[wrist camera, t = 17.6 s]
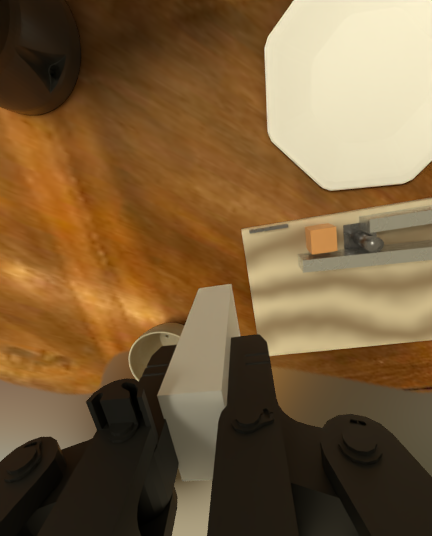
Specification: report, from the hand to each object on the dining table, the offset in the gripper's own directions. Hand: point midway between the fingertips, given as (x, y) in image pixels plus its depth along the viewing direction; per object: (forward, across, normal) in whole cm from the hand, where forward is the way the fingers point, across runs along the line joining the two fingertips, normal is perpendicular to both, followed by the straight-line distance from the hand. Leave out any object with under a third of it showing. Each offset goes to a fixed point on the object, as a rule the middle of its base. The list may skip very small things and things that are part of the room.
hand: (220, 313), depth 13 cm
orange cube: (+25, +11, -3) cm, 27 cm away
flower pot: (+27, -12, -16) cm, 33 cm away
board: (+26, +19, -11) cm, 34 cm away
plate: (+27, +18, +14) cm, 35 cm away
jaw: (+25, +22, -6) cm, 33 cm away
